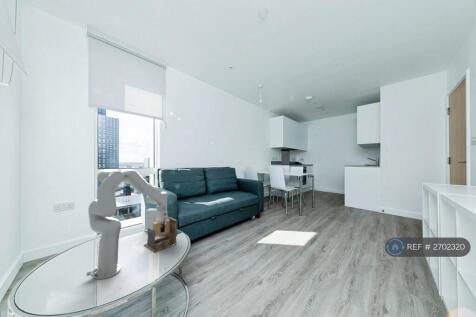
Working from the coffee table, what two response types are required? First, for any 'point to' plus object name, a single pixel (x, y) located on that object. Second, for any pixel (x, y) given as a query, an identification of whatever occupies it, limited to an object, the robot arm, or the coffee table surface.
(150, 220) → the hard drive box
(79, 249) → the coffee table surface
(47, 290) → the coffee table surface
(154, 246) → the book rack
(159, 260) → the coffee table surface
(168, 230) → the book
